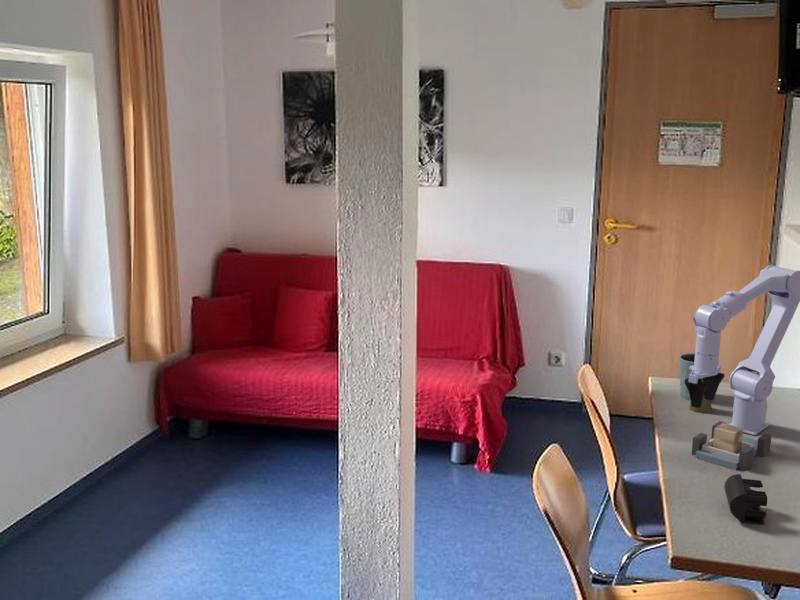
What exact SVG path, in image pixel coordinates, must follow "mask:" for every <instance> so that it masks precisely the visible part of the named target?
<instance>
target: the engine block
mask: <svg viewBox="0 0 800 600" xmlns="http://www.w3.org/2000/svg"><path fill="white" fill-rule="evenodd" d="M725 423H726V422H725ZM725 423H722V424H721V425H719V426H717V427H716V428H714V439H713V447H714V448H717V449H721V450H724V451H728V452H731V453H736V452H738V451H739V450H741V445H742V436H743V435H744V432H743V428H740V427H737V426H733V425H729V423H726V424H725Z"/></svg>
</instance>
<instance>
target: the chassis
mask: <svg viewBox="0 0 800 600" xmlns="http://www.w3.org/2000/svg"><path fill="white" fill-rule="evenodd" d="M722 423H725V424H727V422H724V421H722V420H721V421H720V420H719V421H718V422H716V423H714V424H713V425H712V427H711V428H712V429H711V437H710V440H708V441H707V439H708V434H707V433H703V432H700V433H698V434H697V435H695V436H693V437H692V446H691V456H695V455H696V456H695V458H696V459H698V458H699V459H698V460H701V459H702V460H701V461H704V460H705V461H704V462H708V461H709V463H711V462H712V463H711V464H714V463H715V465H718V464H719V466H721V465H722V466H721V467H724V466H725V468H728V467H729V468H728V469H731V468H732V470H734V471H736V470H737V469H739V470H742V471H746V470H747V469H749V468H750V467H751V466H752V465H753V461H754V460H753V459H754V457H756V456H760V457H765V456H766V455H767V454H769V453H770V451H771V445H772V434H769V433H766V432H765V433H763V434H762V435H760V436H759V437H758V438H757V439H755V438H751V437H746V436H743V435H742V445H741V450H739V451H738V452H736V453H731V452H728V451H724V450H721V449H717V448H714V447H713V439H714V428H716V427H717V426H719V425H721V424H722Z"/></svg>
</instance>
